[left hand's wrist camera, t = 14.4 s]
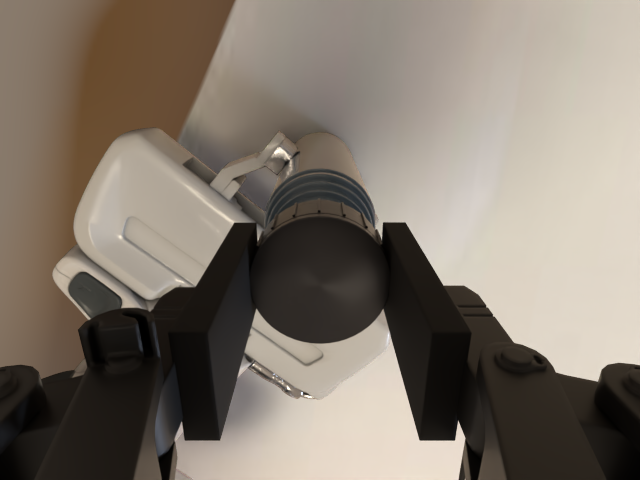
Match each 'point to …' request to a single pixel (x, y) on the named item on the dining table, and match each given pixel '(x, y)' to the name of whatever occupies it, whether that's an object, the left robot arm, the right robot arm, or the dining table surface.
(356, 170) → the bottle
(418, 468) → the dining table surface
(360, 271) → the cap
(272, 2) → the dining table surface
